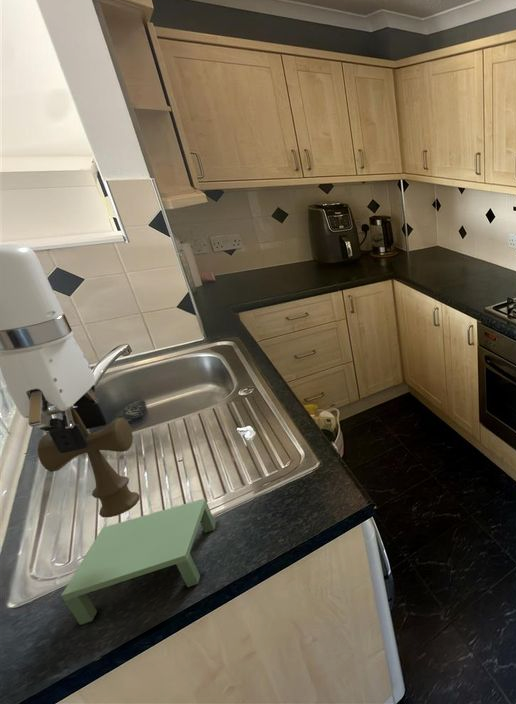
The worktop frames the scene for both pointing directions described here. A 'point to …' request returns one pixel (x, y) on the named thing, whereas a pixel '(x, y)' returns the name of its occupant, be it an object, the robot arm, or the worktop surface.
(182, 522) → the spice shelf
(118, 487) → the kendama
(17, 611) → the worktop surface
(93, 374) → the robot arm
